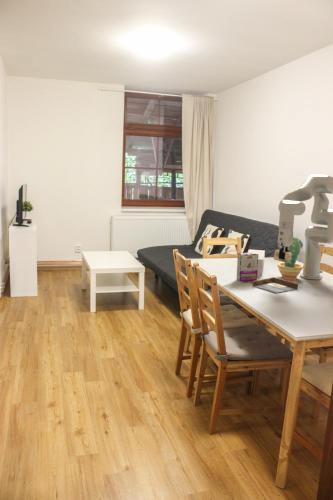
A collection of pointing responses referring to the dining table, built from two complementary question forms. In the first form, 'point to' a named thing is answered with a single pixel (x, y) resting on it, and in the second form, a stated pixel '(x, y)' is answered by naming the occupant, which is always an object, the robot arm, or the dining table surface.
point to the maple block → (287, 256)
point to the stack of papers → (259, 260)
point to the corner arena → (275, 285)
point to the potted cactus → (292, 261)
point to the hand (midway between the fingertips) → (283, 258)
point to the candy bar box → (247, 267)
